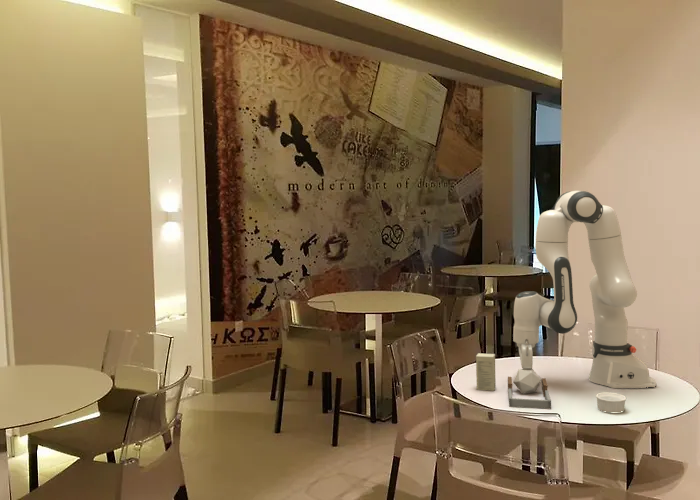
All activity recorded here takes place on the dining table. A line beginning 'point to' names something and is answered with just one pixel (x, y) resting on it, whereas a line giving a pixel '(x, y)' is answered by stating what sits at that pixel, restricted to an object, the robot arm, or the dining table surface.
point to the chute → (544, 384)
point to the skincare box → (485, 371)
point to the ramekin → (611, 402)
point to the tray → (529, 401)
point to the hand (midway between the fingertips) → (525, 374)
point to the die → (527, 381)
